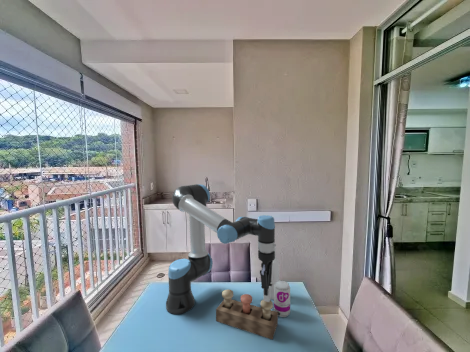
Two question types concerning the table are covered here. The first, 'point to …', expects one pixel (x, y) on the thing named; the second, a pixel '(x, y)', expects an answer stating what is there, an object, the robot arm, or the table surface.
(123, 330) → the table surface
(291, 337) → the table surface
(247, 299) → the brick-red plug
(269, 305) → the maple plug
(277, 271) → the bottle
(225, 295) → the maple plug
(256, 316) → the socket board
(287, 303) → the supplement can
